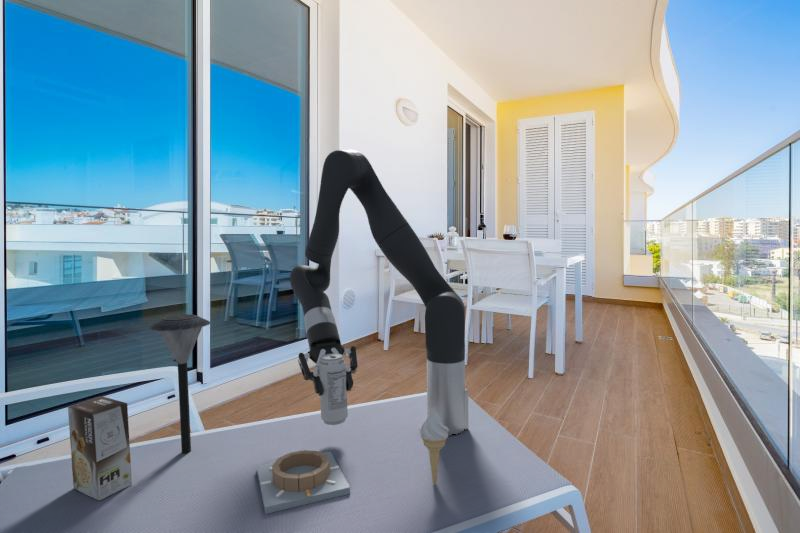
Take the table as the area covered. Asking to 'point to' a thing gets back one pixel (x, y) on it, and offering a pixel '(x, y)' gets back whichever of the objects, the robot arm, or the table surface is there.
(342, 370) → the energy drink can
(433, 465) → the ice cream cone
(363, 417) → the table surface
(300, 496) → the dial plate
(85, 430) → the coffee box
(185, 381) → the solar garden light
